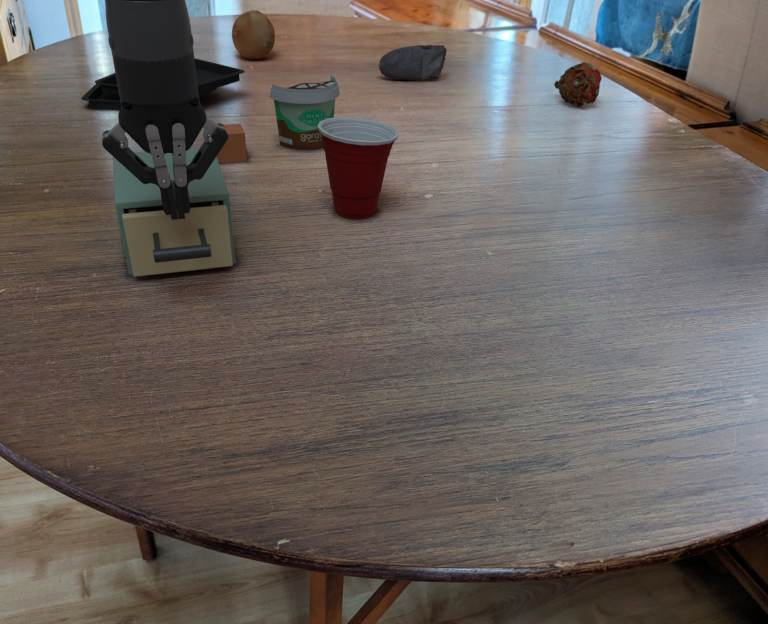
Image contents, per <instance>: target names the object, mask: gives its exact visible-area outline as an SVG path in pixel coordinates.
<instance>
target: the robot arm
mask: <svg viewBox="0 0 768 624" xmlns="http://www.w3.org/2000/svg"><path fill="white" fill-rule="evenodd" d="M104 6H105V7H104V9H105V22H106V30H107V35H108V38H107V39H108V40H107V41H108V45H109V49H110V52H111V56H112V63H113V67H114V73H115V74H116V79H117V85H118V90H119V96H120V101H121V108H120V110H118V115H117V118H118V119H117V120H118V122H116V124H115V125H114V126H113V127H112V128H111V129H110V130H105V131H103V133H102V134H101V144H102V145H101V146H102V148H103V149H104V150H105V151H106V152H107V153H108V154H109V155H111V156H112V158H113V157H114V158H115V159H116V160H117V161H119V162H120V163H121V164H122V165H123V166H124V167H125V168H126V169H127V170H128V171H130V172H131V173H132V174H133V175H134V176H135V177H136V178H137V179H138V180H139V181H141V182H142V183H143V184H149V183H152V184H155V185H157V186H158V187H159V188H160V192H161V199H162V205H163V211H164V213H165V214H166V215H171V219H172V220H176V219H178V218H179V219H185V213H189V212H190V201H189V194H188V184H189V183H190V182H191V181H193V180H195V179H196V180H199V179H202V178H203V176H204V175H205V173H206V172H207V170H208V169H209V167H210V165H211V164H212V162H213V161H214V159H215V158H216V156H217V155H218V153H219V152H220V150H221V149H222V147H223V146H224V144H225V143H226V141H227V140H228V134H227V131H226V129H225V126H224V125H225V124H223V123H221V122H220V123H219V122H218V123H216V122H214V121H213V120H212V119H210V118H209V117H207V113H206V110H205V108H204V106H203V105H202V104H201V101H200V98H199V93H198V85H197V76H196V68H195V59H194V58H195V52H194V51H195V50H194V36H193V34H192V25H191V19H190V15H189V11H188V7H187V2H186V0H104ZM202 129H203V131H202ZM201 131H202V138H203V142H202V144H201V146H200V147H199V148H200V149H199V150H198V152H197V154H196V155H195V157H194V158H193V160H192V161H191V163H190V164H189V165H187V166H186V151H187V150H189V149H190V148H192V147H193V145H194V143H195V141H196V140H197V138H198V136H199V135H200V133H201ZM126 134H127V135H128V136H129V137H130V138H131V140H132V141H134V142H135V144H137V145H138V146H139V148H141V149H142V151H143V152H147V153H150V154H151V155H152V160H153V164H154V168H152V167H149V166H148V165H147V164H146V163H145V162H144V161H143V160H142V159H140V158H139V157H138V156H137V155H136V154H135V153H134V152H135V151H133V150H132V149H131V148H130V147H129V139H128V137H127V135H126ZM167 153H172V161H173V174H174V180H173V183H172V180H170V175H169V173H168V169H167V164H166V160H165V156H164V154H167ZM173 186H174V188H173ZM174 193H175V194H174ZM175 200H176V201H175ZM176 206H177V208H176ZM177 213H178V214H177Z"/></svg>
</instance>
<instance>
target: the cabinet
mask: <svg viewBox="0 0 768 624" xmlns="http://www.w3.org/2000/svg"><path fill="white" fill-rule="evenodd" d="M199 149H200V147H191V148H190V149H189V150H187V151H186V166H187V165H189V164H190V163H191V161H192V160H193V158H194V157H195V155H196V154H197V152H198V150H199ZM133 152H134V153H135V154H136V155H137V156H138V157H139V158H140V159H142V160H143V161H144V162H145V163H146V164H147V165H148V166H149V167H152V168H154V164H153V160H152V155H151V154H150V153H147V152H145V151H133ZM164 156H165V160H166V164H167V169H168V173H169V175H170V180H172V183H173V180H174V174H173V161H172V153H167V154H164ZM112 167H113V187H114V188H113V190H114V191H113V192H114V206H115V212H116V215H117V222H118V226H119V231H120V236H121V242H122V247H123V251H124V258H125V262H126V266H127V272H128V275H129V276H133V271H132V266H131V261H130V255H129V250H128V245H127V240H126V235H125V230H124V224H123V219H122V214H129V208H139V207H151V206H162V199H161V192H160V188H159V187H158V186H157V185H155V184H152V183H149V184H143V183H142V182H141V181H139V180H138V179H137V178H136V177H135V176H134V175H133V174H132V173H131V172H130V171H128V170H127V169H126V168H125V167H124V166H123V165H122V164H121V163H120V162H119V161H117V160H116V159H115V158H114V157H113V156H112ZM173 188H174V186H173ZM174 194H175V193H174ZM188 194H189V201H190V203H197V202H209V201H218V203H219V205H226V207H227V211H228V222H229V232H230V242H231V252H232V262H233V265H234V264H237V262H236V261H237V260H236V249H235V239H234V229H233V218H232V217H233V216H232V208H231V199H230V192H229V189H228V186H227V183H226V181H225V177H224V174H223V172H222V169H221V166H220V164H219V163H218V160H217V157H216V158H215V159H214V161H213V162H212V164H211V165H210V167H209V169H208V170H207V172H206V173H205V175H204V176H203V178H202V179H199V180H196V179H195V180H193V181H191V182H190V183H189V184H188ZM175 201H176V200H175Z"/></svg>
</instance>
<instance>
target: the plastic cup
mask: <svg viewBox="0 0 768 624" xmlns="http://www.w3.org/2000/svg"><path fill="white" fill-rule="evenodd" d="M318 130H319V131H320V133H321V136H322V142H323V147H324V148H323V151H324V156H325V162H326V169H327V175H328V180H329V188H330V190H331V196H332V202H333V206H334V207H333V208H334V210H335V212H336V214H337V215H338V216H340V217H342V218H346V219H349V220H363V219H364V220H365V219H369V218H371V217H372V216H374V215H376V212H377V211H376V210H377V209H378V204H379V198H380V193H381V191H382V189H383V188H382V187H383V182H384V178H385V174H386V169H387V164H388V159H389V157H390V154H391V150H392V149H393V146H394V144H395V142H396V141H397V140H398V138H399V135H400V134H399V133H400V132H399V130H397V129H396V128H395V126H392V125H390V124H387V123H386V122H383V121H379V120H375V119H372V118H364V117H357V116H337V117H334V118H328V119H325V120H323V121H320V122H319V124H318Z"/></svg>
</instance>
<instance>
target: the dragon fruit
mask: <svg viewBox="0 0 768 624" xmlns="http://www.w3.org/2000/svg"><path fill="white" fill-rule="evenodd" d="M602 79H603V78H602V74H601V71H599V69H594V66H593V65H592V64H590V63H587V62H585V61H583V62H581V63H578V64H575V65H572V66H570V67H569V68H567V69H565V70H564V73H563V74H562V75H560V76H559V79H558V80H555V82H554V83H553V86H554V87H555V89H557V90H558V93H559V94H560V99H562V100H563V102H564V103H569V104H571V105H572V106H574V107H577V108H581V107H582V106H583V105H585V104H587V105H588V104H594V103H595V102H596V100H597V98H598V96H599V94H600V88H601V81H602Z"/></svg>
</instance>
